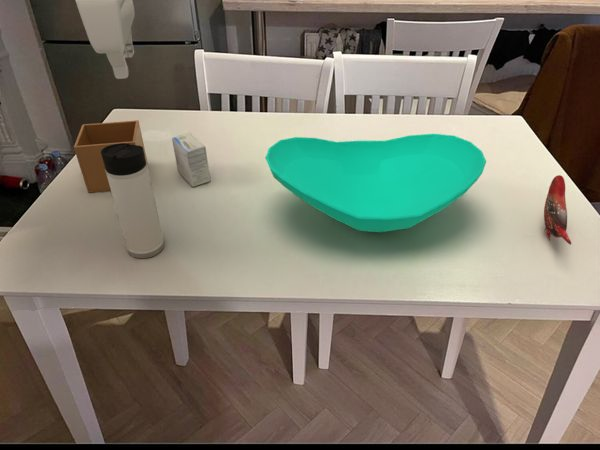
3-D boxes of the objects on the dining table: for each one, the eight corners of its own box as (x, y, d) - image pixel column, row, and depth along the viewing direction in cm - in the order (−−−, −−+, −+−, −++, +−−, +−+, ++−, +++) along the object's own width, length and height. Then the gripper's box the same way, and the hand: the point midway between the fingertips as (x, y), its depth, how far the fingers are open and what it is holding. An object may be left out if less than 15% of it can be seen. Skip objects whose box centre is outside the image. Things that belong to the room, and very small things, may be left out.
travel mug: (119, 255, 81) (89, 153, 69) (142, 233, 86) (117, 134, 74) (149, 263, 79) (124, 160, 67) (171, 241, 84) (150, 141, 72)
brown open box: (88, 192, 96) (73, 147, 90) (95, 167, 105) (82, 124, 98) (145, 187, 98) (134, 142, 92) (147, 163, 107) (138, 120, 100)
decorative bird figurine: (548, 214, 92) (566, 170, 86) (566, 273, 78) (589, 226, 72) (533, 212, 92) (549, 168, 86) (548, 270, 79) (569, 223, 72)
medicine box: (211, 182, 100) (206, 146, 95) (191, 188, 98) (186, 151, 93) (195, 166, 105) (190, 131, 100) (177, 172, 103) (171, 136, 98)
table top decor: (269, 264, 79) (266, 200, 71) (266, 179, 101) (264, 123, 93) (494, 255, 82) (516, 192, 74) (444, 174, 104) (456, 118, 96)
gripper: (87, -50, 68) (111, 47, 76) (58, -26, 52) (93, 93, 60) (131, -52, 69) (151, 44, 77) (116, -29, 53) (143, 88, 61)
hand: (125, 66), depth 69 cm, fingers open, 8 cm apart
